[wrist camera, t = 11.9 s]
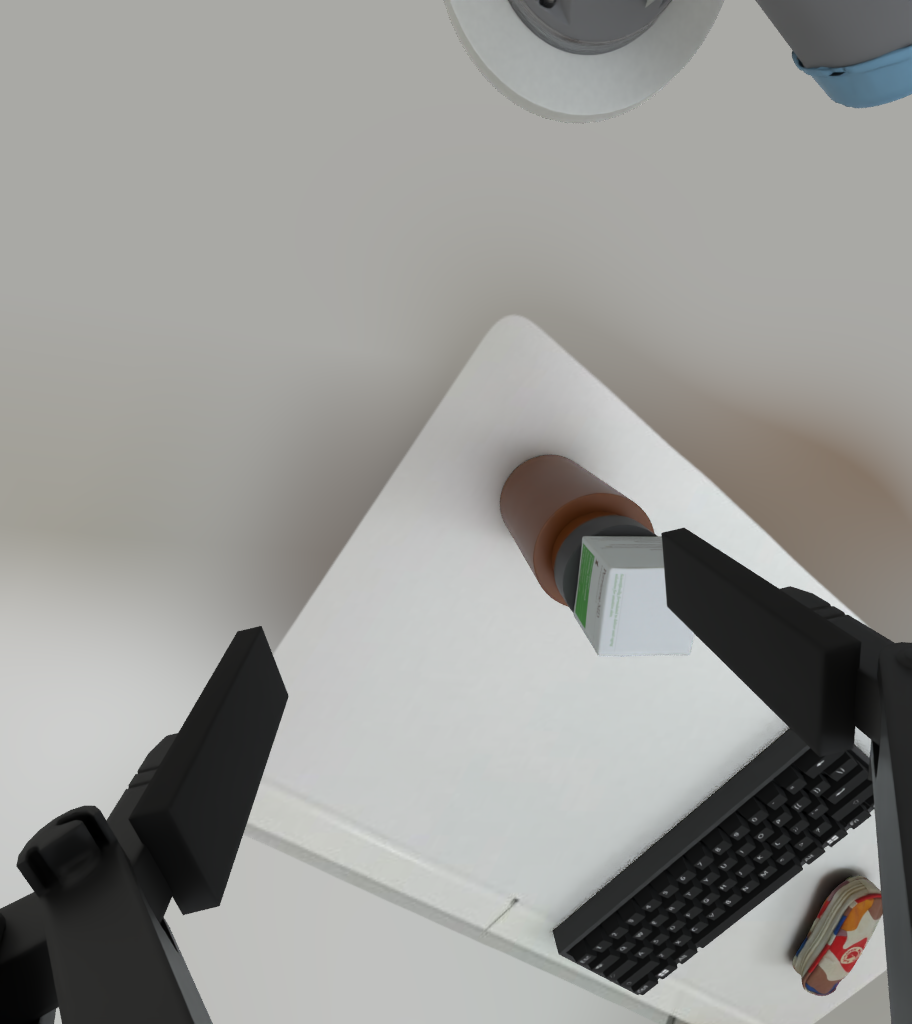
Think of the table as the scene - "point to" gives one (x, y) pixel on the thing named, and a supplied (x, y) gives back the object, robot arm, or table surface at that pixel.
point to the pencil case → (838, 935)
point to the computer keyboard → (719, 863)
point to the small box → (627, 598)
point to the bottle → (563, 519)
